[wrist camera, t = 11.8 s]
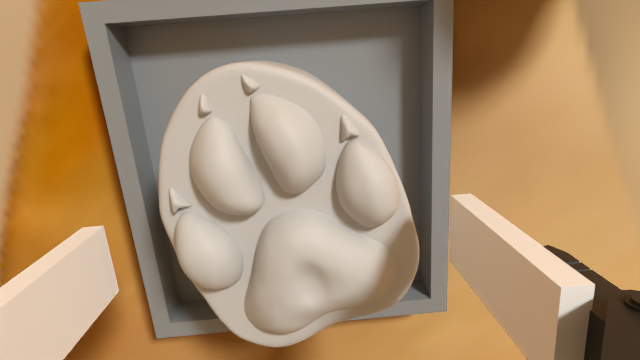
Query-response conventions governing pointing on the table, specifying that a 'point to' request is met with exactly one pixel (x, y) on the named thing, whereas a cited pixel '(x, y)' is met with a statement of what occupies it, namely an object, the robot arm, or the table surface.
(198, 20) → the charcoal tray
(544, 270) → the robot arm
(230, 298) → the lumpy-topped squat cylinder
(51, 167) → the table surface
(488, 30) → the table surface
